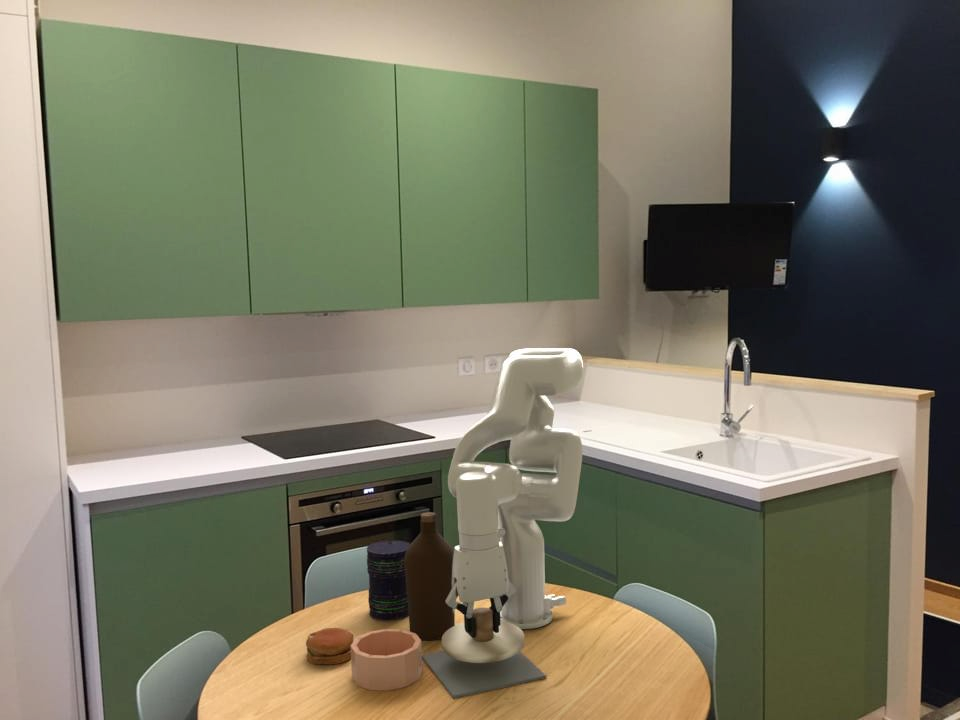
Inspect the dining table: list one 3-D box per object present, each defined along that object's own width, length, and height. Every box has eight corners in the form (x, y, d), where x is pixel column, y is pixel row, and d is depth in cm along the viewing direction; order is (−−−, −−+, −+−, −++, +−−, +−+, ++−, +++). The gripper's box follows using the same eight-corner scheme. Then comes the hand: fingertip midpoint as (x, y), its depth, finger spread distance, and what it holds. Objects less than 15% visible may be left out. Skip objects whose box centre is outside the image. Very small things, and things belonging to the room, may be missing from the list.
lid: (504, 619, 168) (503, 589, 167) (538, 651, 154) (537, 619, 153) (430, 635, 162) (429, 604, 162) (459, 670, 148) (457, 637, 147)
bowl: (409, 654, 164) (408, 624, 163) (430, 681, 152) (429, 649, 152) (346, 666, 159) (345, 636, 159) (362, 695, 148) (361, 663, 147)
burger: (358, 662, 162) (357, 638, 161) (310, 670, 159) (308, 646, 158) (349, 642, 171) (348, 620, 171) (303, 650, 168) (302, 627, 168)
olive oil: (414, 645, 168) (410, 523, 166) (401, 626, 178) (397, 511, 176) (464, 636, 172) (461, 517, 170) (448, 618, 182) (445, 505, 180)
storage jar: (411, 620, 181) (408, 553, 180) (365, 621, 181) (363, 554, 180) (415, 603, 191) (413, 539, 190) (372, 604, 191) (369, 540, 190)
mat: (506, 640, 169) (506, 638, 169) (546, 678, 152) (546, 675, 152) (421, 657, 162) (421, 655, 162) (453, 698, 146) (453, 695, 146)
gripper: (511, 526, 162) (515, 616, 164) (429, 540, 156) (434, 633, 158) (528, 537, 155) (531, 631, 157) (443, 552, 149) (447, 650, 151)
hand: (482, 631), depth 158 cm, fingers closed on lid, 4 cm apart
